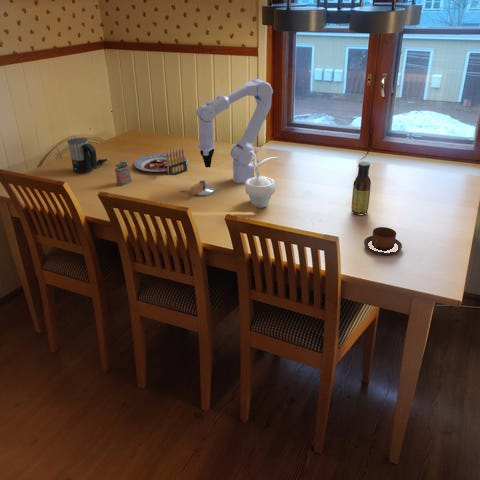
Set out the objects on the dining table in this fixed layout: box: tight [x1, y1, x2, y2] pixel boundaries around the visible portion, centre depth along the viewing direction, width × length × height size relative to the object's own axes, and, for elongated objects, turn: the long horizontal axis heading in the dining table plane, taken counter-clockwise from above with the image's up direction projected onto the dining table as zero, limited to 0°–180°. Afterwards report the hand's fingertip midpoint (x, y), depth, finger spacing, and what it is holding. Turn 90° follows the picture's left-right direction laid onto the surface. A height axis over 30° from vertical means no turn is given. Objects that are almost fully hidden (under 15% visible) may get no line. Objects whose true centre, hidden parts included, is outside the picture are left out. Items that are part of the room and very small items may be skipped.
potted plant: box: [244, 147, 279, 209], centre depth 184 cm, size 13×12×25 cm
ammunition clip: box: [166, 146, 188, 176], centre depth 220 cm, size 11×2×12 cm, turn 136°
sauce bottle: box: [350, 161, 372, 215], centre depth 177 cm, size 6×6×20 cm
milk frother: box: [66, 137, 108, 174], centre depth 227 cm, size 14×16×15 cm
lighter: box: [114, 160, 133, 187], centre depth 210 cm, size 8×3×10 cm, turn 149°
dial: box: [190, 180, 216, 197], centre depth 198 cm, size 12×10×4 cm
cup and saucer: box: [363, 226, 403, 255], centre depth 156 cm, size 12×12×6 cm
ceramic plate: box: [134, 153, 189, 173], centre depth 232 cm, size 26×26×3 cm
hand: (208, 166), depth 202 cm, fingers closed
